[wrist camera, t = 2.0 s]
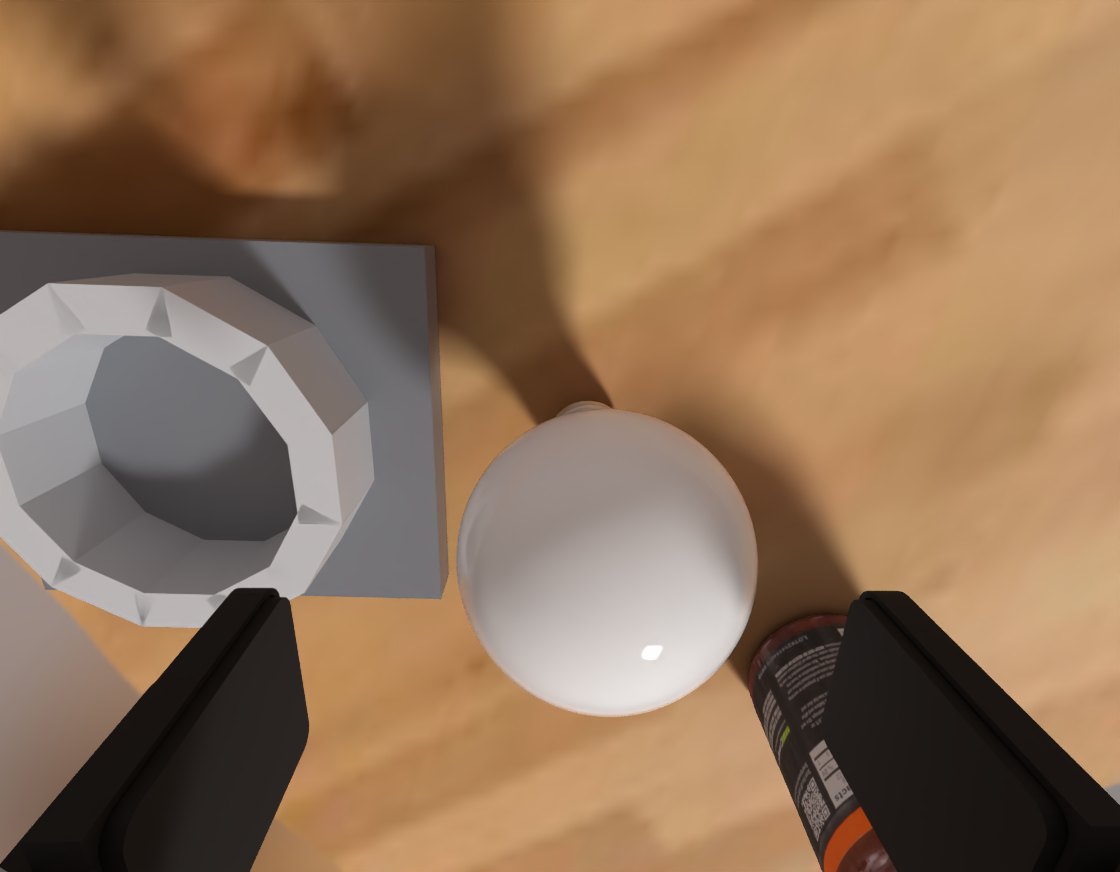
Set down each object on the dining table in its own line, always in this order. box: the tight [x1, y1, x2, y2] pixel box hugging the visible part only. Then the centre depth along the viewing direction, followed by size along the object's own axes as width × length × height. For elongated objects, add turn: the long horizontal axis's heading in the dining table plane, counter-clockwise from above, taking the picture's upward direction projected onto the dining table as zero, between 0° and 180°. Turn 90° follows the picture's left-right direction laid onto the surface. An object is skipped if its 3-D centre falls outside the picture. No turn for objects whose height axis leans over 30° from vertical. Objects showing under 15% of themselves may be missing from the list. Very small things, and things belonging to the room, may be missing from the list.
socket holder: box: [0, 230, 449, 628], centre depth 17 cm, size 14×12×4 cm
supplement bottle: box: [748, 614, 897, 872], centre depth 18 cm, size 6×6×11 cm
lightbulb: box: [457, 401, 758, 717], centre depth 14 cm, size 6×6×11 cm
